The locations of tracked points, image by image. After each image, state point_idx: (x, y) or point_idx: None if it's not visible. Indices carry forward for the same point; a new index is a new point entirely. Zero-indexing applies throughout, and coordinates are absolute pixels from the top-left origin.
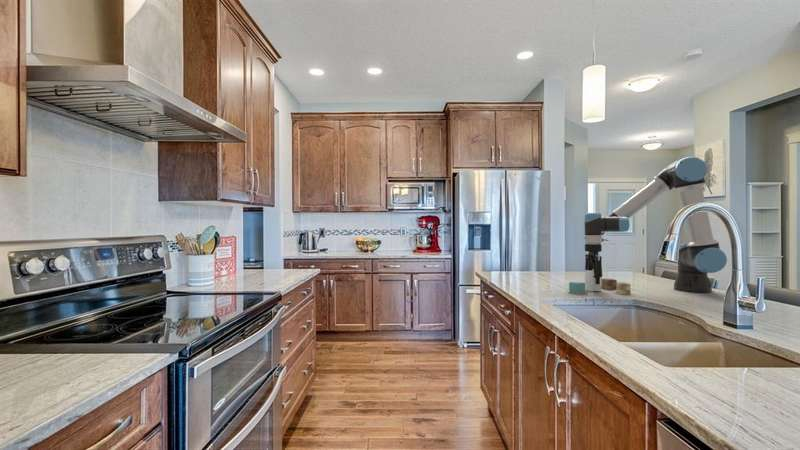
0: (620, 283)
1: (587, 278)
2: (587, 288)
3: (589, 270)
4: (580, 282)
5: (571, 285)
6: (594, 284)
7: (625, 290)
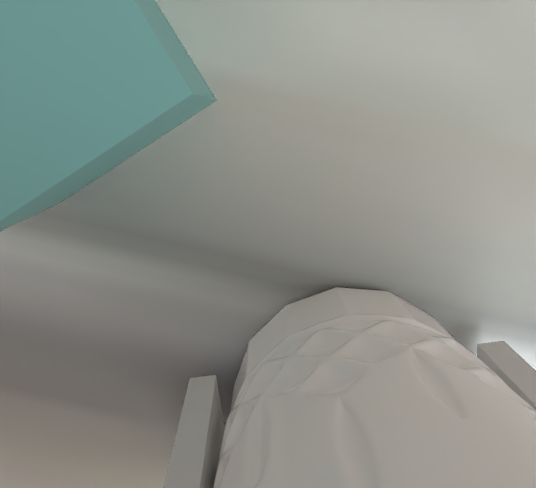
0: None
1: (302, 433)
2: (308, 310)
3: None
4: (4, 146)
5: None
6: (171, 456)
7: None
